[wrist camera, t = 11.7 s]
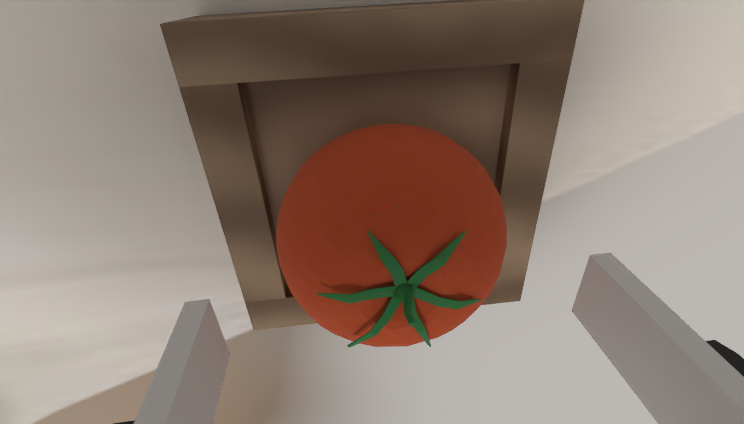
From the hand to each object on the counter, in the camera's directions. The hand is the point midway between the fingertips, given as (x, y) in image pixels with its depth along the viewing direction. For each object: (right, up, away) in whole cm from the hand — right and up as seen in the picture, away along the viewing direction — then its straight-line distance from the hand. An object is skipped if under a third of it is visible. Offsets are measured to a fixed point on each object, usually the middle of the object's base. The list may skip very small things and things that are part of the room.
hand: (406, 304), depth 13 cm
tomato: (-1, +5, +8) cm, 10 cm away
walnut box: (-1, +7, +12) cm, 13 cm away
